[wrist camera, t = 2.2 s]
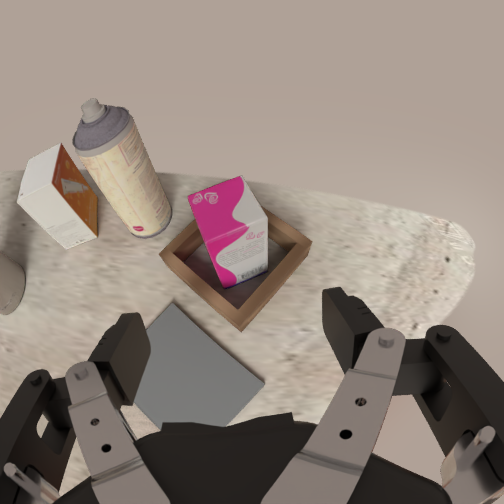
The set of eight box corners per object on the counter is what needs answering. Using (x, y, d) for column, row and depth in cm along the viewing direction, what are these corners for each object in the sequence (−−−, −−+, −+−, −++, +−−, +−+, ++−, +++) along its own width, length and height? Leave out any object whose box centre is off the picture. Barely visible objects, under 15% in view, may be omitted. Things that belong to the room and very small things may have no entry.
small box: (98, 238, 37) (51, 183, 25) (65, 250, 36) (15, 203, 25) (98, 196, 41) (61, 140, 29) (68, 209, 40) (27, 159, 28)
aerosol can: (133, 199, 40) (76, 92, 22) (175, 196, 40) (131, 77, 22) (123, 239, 37) (47, 134, 19) (168, 237, 37) (106, 118, 19)
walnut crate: (167, 266, 35) (158, 254, 32) (233, 202, 39) (231, 186, 36) (241, 332, 31) (238, 326, 28) (307, 254, 35) (312, 241, 32)
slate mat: (109, 372, 29) (107, 371, 28) (173, 303, 33) (172, 302, 32) (193, 457, 24) (192, 458, 24) (264, 384, 28) (265, 384, 28)
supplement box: (248, 233, 36) (243, 172, 26) (268, 272, 34) (271, 220, 24) (206, 250, 36) (185, 194, 25) (223, 291, 33) (206, 246, 23)
